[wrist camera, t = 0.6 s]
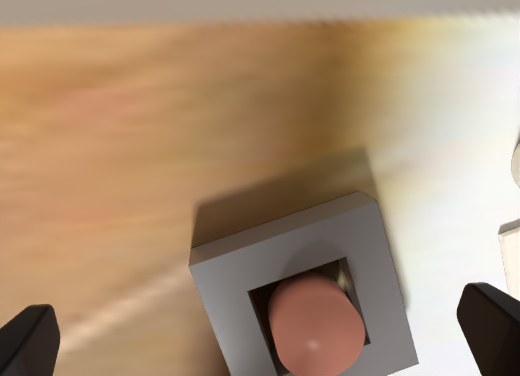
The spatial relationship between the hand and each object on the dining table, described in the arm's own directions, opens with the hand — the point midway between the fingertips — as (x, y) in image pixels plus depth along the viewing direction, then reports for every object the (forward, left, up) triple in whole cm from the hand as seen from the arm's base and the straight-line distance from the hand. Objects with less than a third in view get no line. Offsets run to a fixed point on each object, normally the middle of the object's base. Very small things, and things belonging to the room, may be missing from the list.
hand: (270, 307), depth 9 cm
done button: (-8, -2, -12) cm, 15 cm away
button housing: (-8, -2, -14) cm, 16 cm away
